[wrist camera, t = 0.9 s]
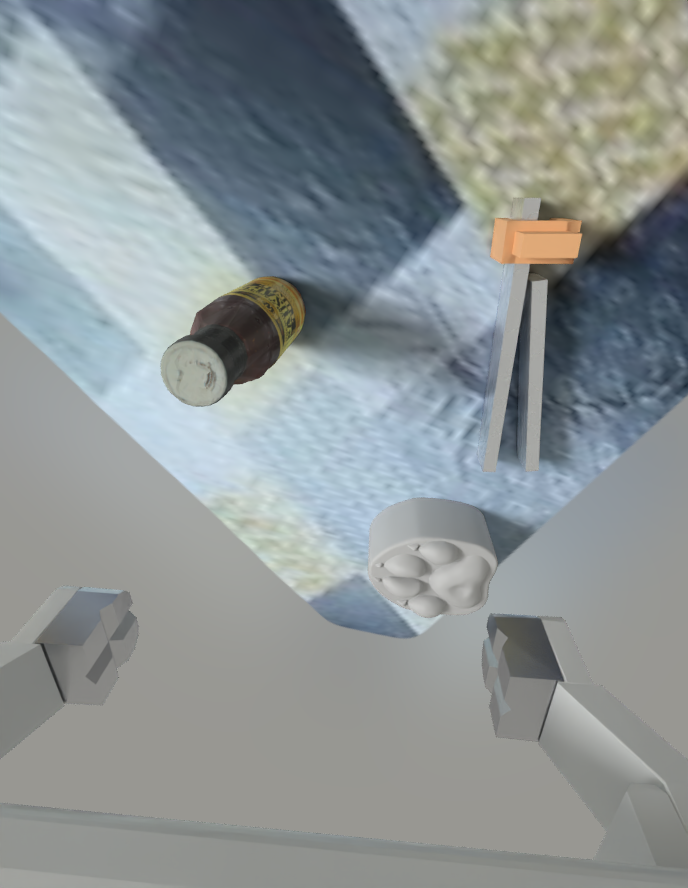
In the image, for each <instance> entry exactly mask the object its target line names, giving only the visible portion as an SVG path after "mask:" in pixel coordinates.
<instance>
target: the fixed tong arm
mask: <svg viewBox="0 0 688 888" xmlns="http://www.w3.org/2000/svg"><path fill="white" fill-rule="evenodd" d="M540 202H541V198H513V204H512V211H511V218H510V219H514V220H538V214H539V208H540ZM529 268H530V264H504V267H503V274H502V281H501V288H500V295H499V302H498V309H497V316H496V323H495V330H494V337H493V344H492V351H491V357H490V364H489V371H488V378H487V385H486V392H485V399H484V406H483V413H482V420H481V427H480V434H479V441H478V448H477V456H478V459H479V462H480V465H481V468H482V471H483V472H495V471H496V465H497V459H498V453H499V447H500V441H501V435H502V429H503V423H504V417H505V411H506V405H507V399H508V393H509V387H510V381H511V375H512V369H513V363H514V357H515V351H516V345H517V339H518V333H519V327H520V321H521V315H522V309H523V303H524V297H525V291H526V285H527V280H528V274H529Z"/></svg>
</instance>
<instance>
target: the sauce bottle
mask: <svg viewBox="0 0 688 888" xmlns="http://www.w3.org/2000/svg"><path fill="white" fill-rule="evenodd" d="M305 313H306V310H305V306H304V302H303V300H302V297H301V294H300V293H299V292H298V291H297V289H296V287H295V286H293V285H292V284H290V283H288V282H286V281H285V280H283V279H280V278H277V277H274V276H272V277H260V278H257V279H255V280H253V281H251V282H249V283H247V284H245V285H243V286H241V287H239V288H237V289H235V290H233V291H231V292H229V293H227V294H225V295H223V296H221V297H219V298H217V299H216V300H214V301H213V302H212V303H210V304H209V305H207V306H206V307H204V308H203V309H202V310H200V311H199V312H197V313H196V317H195V320H194V322H193V325H192V328H191V331H190V335H187V336H185V337H183V338H181V339H179V340H177V341H176V342H175V343H173V344H172V345H171V346H170V347H168V348H167V350H166V351H165V353H164V355H163V357H162V361H161V376H162V378H163V382H164V383H165V385H166V387H167V389H168V390H169V391H170V393H171V394H173V395H174V396H175V397H176V398H178V399H179V400H180V401H181V402H183V403H185V404H188V405H191V406H202V407H203V406H209V405H212V404H214V403H216V402H218V401H219V400H220V399H222V398H223V397H224V396H225V395H226V394H227V393H228V391H230V390H231V388H232V386H233V384H243V383H246V382H248V381H252V380H255V379H258V378H260V377H261V376H263V375H264V373H265V372H266V371H267V369H269V368H270V367H271V366H273V365H274V364H275V362H276V361H277V360H278V359H279V358H280V356H281V355H282V354H283V353H284V351H285V350H286V349H287V348H288V346H289V345H290V344H291V343H292V342H293V341H294V339H295V338H296V337H297V335H298V334H299V333H300V331H301V329H302V327H303V323H304V318H305Z"/></svg>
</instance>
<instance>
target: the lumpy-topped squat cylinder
mask: <svg viewBox="0 0 688 888" xmlns="http://www.w3.org/2000/svg"><path fill="white" fill-rule="evenodd" d="M497 566H498V560H497V557H496V554H495V550H494V547H493V543H492V540H491V537H490V534H489V531H488V527H487V524H486V521H485V518H484V515H483V514H482V513H481V511H479V510H478V509H477V508H476V507H474V506H472V505H469V504H466V503H462V502H456V501H451V500H445V499H437V498H412V499H408V500H405V501H402V502H399V503H396V504H394V505H392V506H389V507H387V508H386V509H384V510H383V511H382V512H380V513H379V514H378V515H377V516H376V517H375V518H374V519H373V521H372V522H371V525H370V532H369V556H368V575H369V579H370V581H371V582H372V584H373V586H374V587H375V588H376V589H377V591H378V592H379V593H380V594H381V595H383V596H384V597H385V598H387V599H388V600H390V601H391V602H393V603H395V604H397V605H399V606H401V607H403V608H405V609H409V610H412V611H414V612H415V613H416V614H418V615H419V616H421V617H425V618H432V617H436V616H438V615H439V614H446V615H466V614H470V613H472V612H475V611H477V610H479V609H480V608H481V607H483V606H484V604H485V603H486V601H487V598H488V588H489V584H490V581H491V579H492V577H493V575H494V574H495V572H496V569H497Z"/></svg>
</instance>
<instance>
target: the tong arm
mask: <svg viewBox="0 0 688 888" xmlns="http://www.w3.org/2000/svg"><path fill="white" fill-rule="evenodd" d="M547 284H548V279H546V278H544V277H542V276H540V275H538V274H536V273H533V274H528V280H527V285H526V291H525V297H524V303H523V309H522V315H521V321H520V349H519V391H518V432H517V455H518V457H519V459H520V461H521V463H522V465H523V467H524V469H525V471H526V472H527V471H538V469H539V449H540V428H541V408H542V387H543V366H544V346H545V325H546V305H547Z"/></svg>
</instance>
